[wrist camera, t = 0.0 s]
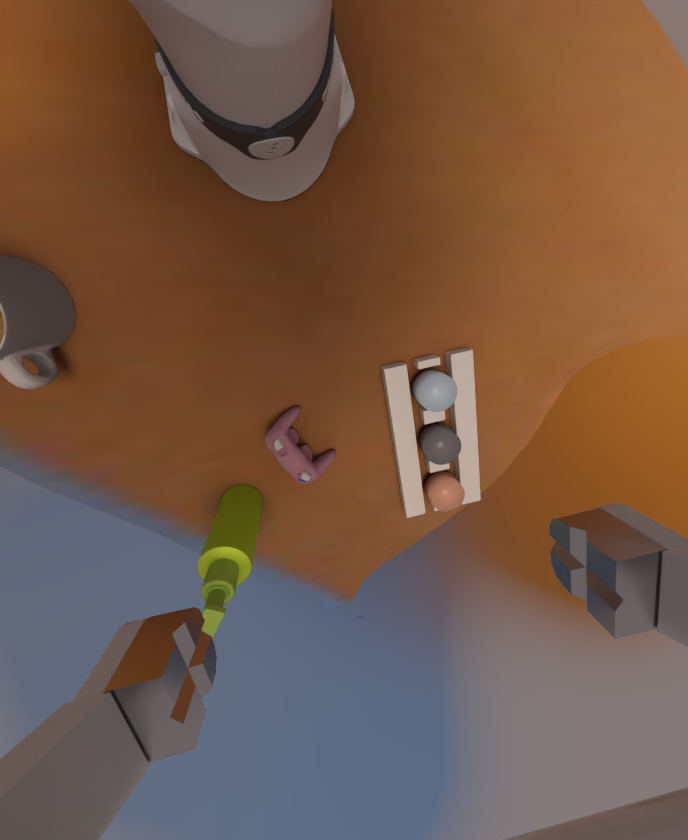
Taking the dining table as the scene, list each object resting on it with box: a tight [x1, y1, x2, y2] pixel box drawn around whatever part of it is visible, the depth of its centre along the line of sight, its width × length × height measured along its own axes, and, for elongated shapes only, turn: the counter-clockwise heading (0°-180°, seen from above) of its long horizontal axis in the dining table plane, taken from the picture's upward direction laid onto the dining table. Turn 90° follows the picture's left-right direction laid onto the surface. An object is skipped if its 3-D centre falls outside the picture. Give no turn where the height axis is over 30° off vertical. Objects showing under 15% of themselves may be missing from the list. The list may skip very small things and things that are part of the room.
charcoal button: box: [419, 424, 461, 465], centre depth 48 cm, size 5×5×3 cm
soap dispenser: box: [198, 485, 263, 638], centre depth 42 cm, size 6×7×20 cm
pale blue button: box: [412, 369, 457, 412], centre depth 45 cm, size 5×5×3 cm
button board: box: [381, 348, 481, 518], centre depth 50 cm, size 24×12×2 cm, turn 12°
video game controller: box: [265, 406, 336, 484], centre depth 46 cm, size 10×5×7 cm, turn 35°
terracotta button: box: [425, 472, 465, 511], centre depth 51 cm, size 5×5×3 cm
